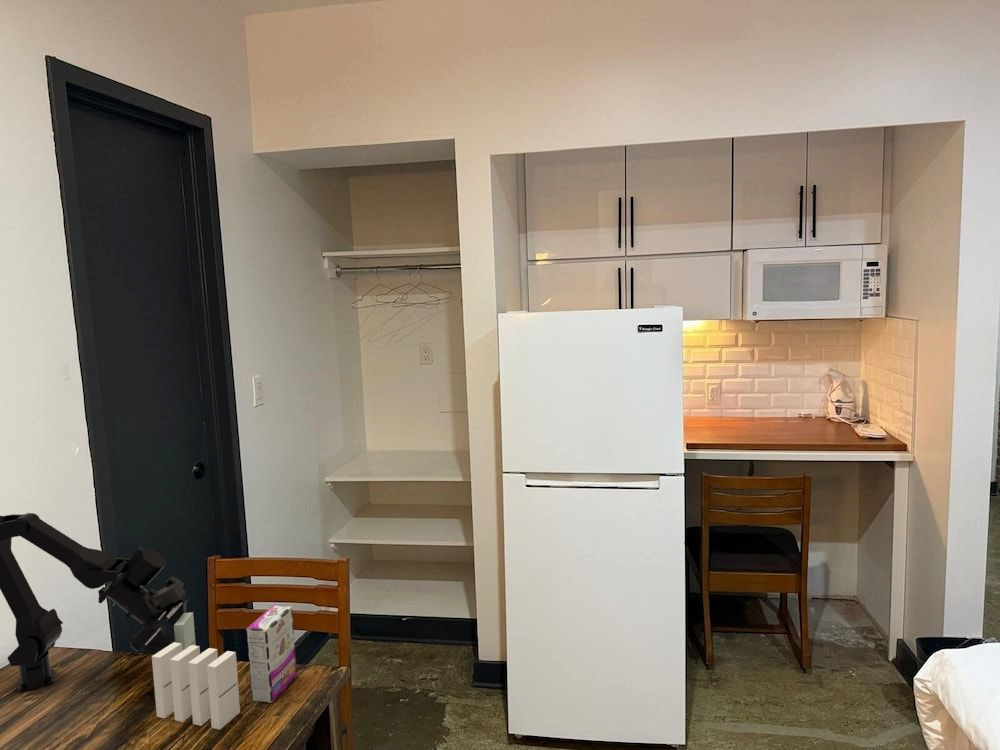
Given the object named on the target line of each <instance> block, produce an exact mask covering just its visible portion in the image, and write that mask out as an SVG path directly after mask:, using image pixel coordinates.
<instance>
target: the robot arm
mask: <svg viewBox="0 0 1000 750" xmlns="http://www.w3.org/2000/svg"><path fill="white" fill-rule="evenodd" d="M15 537H16V538H17V537H20V538H22V539H25V540H26V541H28V542H29V543H31V545H34V546H36V547H37V548H39V549H40V550H41V551H43V552H44V553H47V554H48V555H50V556H51V557H52V558H55V559H56V560H58V561H59V562H61V563H62V564H64V565H65V566H67V567H68V568H69V570H70V572H71V573H72V575H73V577H74V578H75V579H76V580H77V581H78V582H79V583H81V584H82V585H83V587H85V588H88V589H90V590H94V589H99V588H100V589H99V590H98V591H97V593H98V603H99V604H102V603H103V602H104V601H106V600H107V599H110V600H111V601H112V602H114V604H116V605H117V606H119V607H120V608H121V609H122V610H124V612H126V614H125V615H124V617H125V618H127V619H130V618H131V617H132V618H134V619H135V620H136V621H138V622H139V623H140V624H141V625H140V626H139V631H138V632H137V633H136V634H135V635H134V636H133V637H132V638H131V639H130V640H129V643H130V647H131V648H132V649H133V650H134V651H136V652H139V651H140V650H141V651H143V652H145V651H152V652H159V651H161V650H163V649H164V648H166V647H167V646H169V645H170V644H172V643H173V642H175V640H174V639H173V638H171V636H170V635H168V633H167V627H166V625H165V624H164V625H162V622H163V621H164V620H166V621H165V623H166V624H167V625H171V626H172V627H174V625H175V623H176V622H177V621H178V620H179V619H180V617H181V616H182V615H183V614H184V613H188V611H187V603H188V599H186V598H187V597H188V595H187V594H186V591H185V589H184V588H183V586H184V583H185V582H184V581H181V580H180V579H179V578H177V577H175V576H172V577H170V578H169V579H167V580H166V581H165V586H164V587H162V589H159V590H156V589H155V588H150V589H148V590H147V589H146V588H145V587H144V586H147V585H149V584H150V583H151V582H152V581H153V580H154V578H156V576H157V575H158V574H159V573H160V572H161V571H162V570H163V569H164V568H165V567H166V565H167V560H166V559H165V557H164V556H163V555H162V554H161V553H160V552H159V551H156V550H154V549H150V548H146V547H145V546H140V547H139V548H137V550H135V552H133V555H132V556H131V558H124V557H123V558H121V557H115V556H113V555H112V554H109V553H107V552H105V551H102V550H101V549H96V548H95V549H94V548H89V547H86V546H84V545H82V544H81V543H79V542H77V541H76V540H74V539H73V538H71V537H69V536H68V535H66V534H65V533H63V532H61V531H60V530H58V529H57V528H55V527H53V526H52V525H50V524H49V523H47V522H45V520H42V519H41V518H40V516H39V515H38V514H36V513H31V512H28V513H24V514H15V513H14V514H7V515H0V592H1V594H2V596H3V597H4V599H5V601H6V602H7V605H8V608H10V611H11V613H12V614H13V616H14V618H15V632H14V633H15V634H14V635H15V638H16V641H17V644H18V646H17V647H16V648H15V649H14V650H13V651H12V652H11V653H10V655H8V656H7V661H8V662H9V664H10V666H11V667H17V666H18V672H19V678H18V687H17V692H18V693H22V691H23V692H26V691H30V690H33V689H37V688H40V687H45V686H48V685H52V684H54V669H51V664H50V663H51V662H50V653H49V652H50V651H49V650H51V649H52V648H53V647H55V646H56V642H57V641H58V639H59V638H61V635H62V633H63V627H62V625H63V623H64V622H63V621H62V620H61V619H60V618H59V616H58V612H57V610H56V609H55V608H51V609H49V610H48V609H46V608H44V607H42V606H41V604H40V603H39V601H38V600H37V598H36V595H35V594H34V591H33V589H32V588H31V585H30V584H29V581H28V579H27V578H26V576H25V574H24V573H23V572H24V571H22V568H21V566H20V565H19V562H18V561H17V559H16V556H15V555H14V553H13V551H12V538H15ZM121 575H123V576H122V577H120V576H121ZM107 583H109V584H108V585H107V586H104V585H106V584H107ZM194 631H195V635H197V634H198V632H199V631H198V628H197V626H196V624H194ZM182 651H183V650H182ZM29 689H30V690H29Z"/></svg>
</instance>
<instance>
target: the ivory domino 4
mask: <svg viewBox="0 0 1000 750" xmlns="http://www.w3.org/2000/svg"><path fill="white" fill-rule="evenodd" d="M207 673H208V686H209V699H210V712H211V718H210V721H211V722H210V723H211V724H210V725H211V729H216V730H222V729H223V728H224V727H225V726H226V725H228V724H229V723H230V722H231V721H232V720H234V718H235V717H237V715H239V714H240V713H241V707H240V693H239V677H238V665H237V652H236V651H230V650H227V651H225V652H223V653H222V654H221V655H220V656H218V658H217V659H216V660H214V661H213V662H212V663H210V664H209V665H207Z"/></svg>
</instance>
